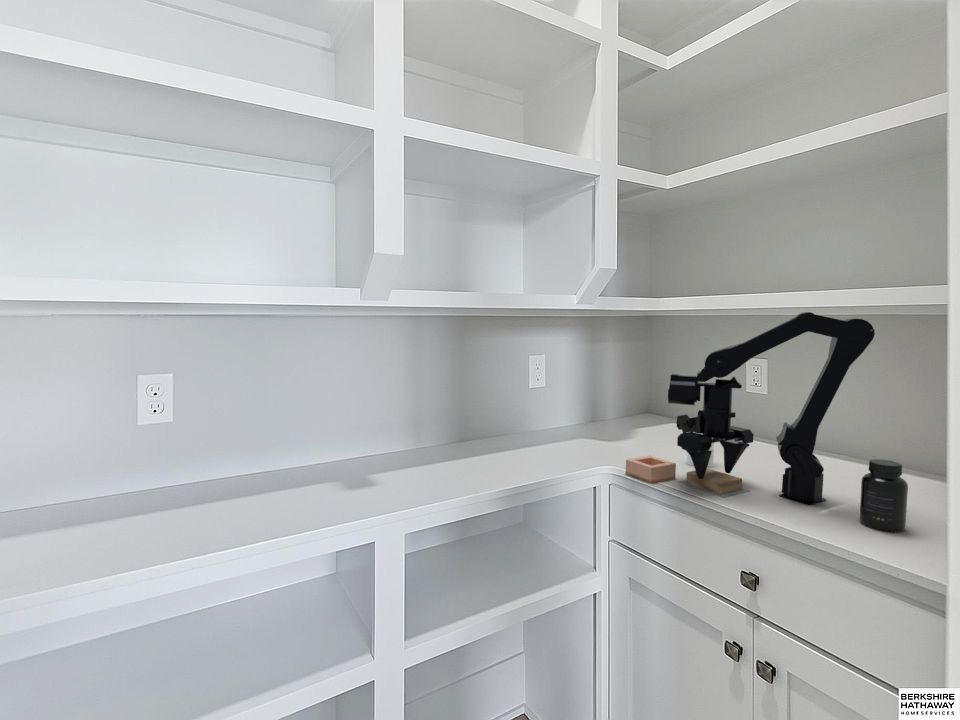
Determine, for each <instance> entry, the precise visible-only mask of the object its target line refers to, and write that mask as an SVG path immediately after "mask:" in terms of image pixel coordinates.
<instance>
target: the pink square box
mask: <svg viewBox="0 0 960 720" xmlns="http://www.w3.org/2000/svg"><path fill="white" fill-rule="evenodd" d="M676 464H677V463H675V462H674V461H669V460H667V459H662V458H660V457H656V456H652V455H645V456H640V457H633V458H627V459H625V475H626V476H629V477H632V478H634V479H637V480H640V481H642V482H645V483H648V484H651V485H652V484H656V483H661V482H666V481H670V480H676V475H677V472H676V471H677V465H676Z"/></svg>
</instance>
